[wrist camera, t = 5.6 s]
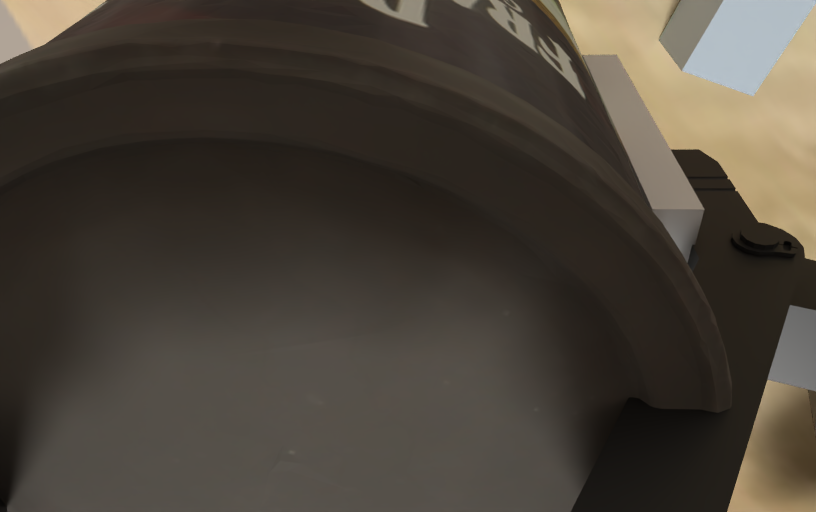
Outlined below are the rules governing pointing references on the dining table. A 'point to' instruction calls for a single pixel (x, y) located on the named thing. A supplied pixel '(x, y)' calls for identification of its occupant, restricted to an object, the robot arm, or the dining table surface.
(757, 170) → the dining table surface
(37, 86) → the coffee can
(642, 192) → the robot arm
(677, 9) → the blue grey brick
